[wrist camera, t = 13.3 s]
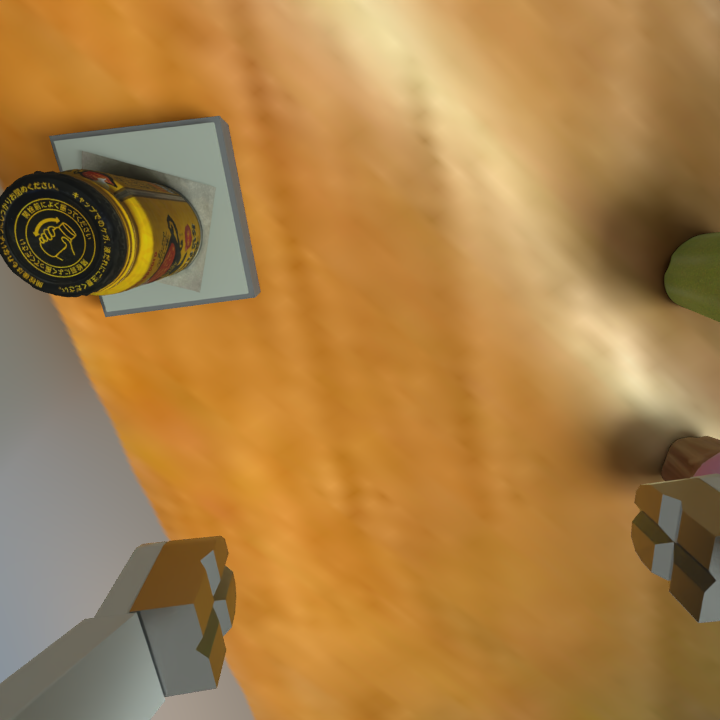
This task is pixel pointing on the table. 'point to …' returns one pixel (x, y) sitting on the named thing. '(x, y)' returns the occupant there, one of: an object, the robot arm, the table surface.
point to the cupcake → (692, 458)
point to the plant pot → (696, 275)
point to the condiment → (105, 228)
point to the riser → (193, 162)
